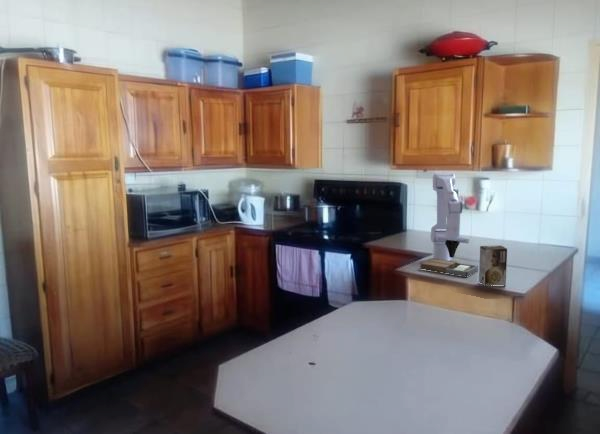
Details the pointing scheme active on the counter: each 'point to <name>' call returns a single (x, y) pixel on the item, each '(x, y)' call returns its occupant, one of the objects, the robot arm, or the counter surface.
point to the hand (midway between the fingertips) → (451, 257)
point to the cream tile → (464, 267)
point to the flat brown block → (438, 265)
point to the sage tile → (460, 269)
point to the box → (463, 273)
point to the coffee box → (492, 265)
